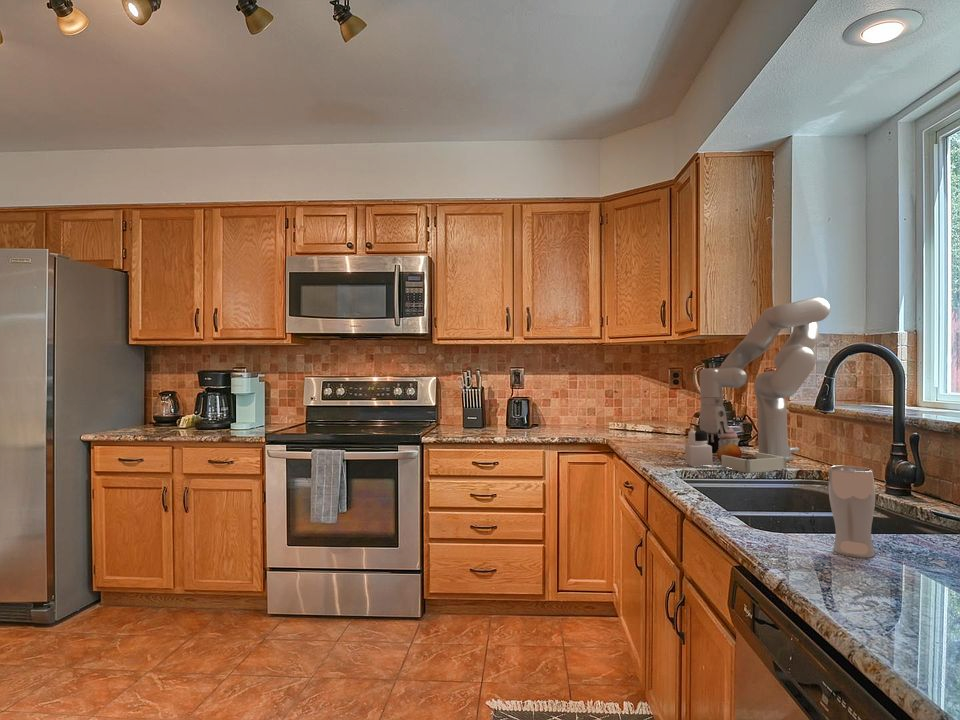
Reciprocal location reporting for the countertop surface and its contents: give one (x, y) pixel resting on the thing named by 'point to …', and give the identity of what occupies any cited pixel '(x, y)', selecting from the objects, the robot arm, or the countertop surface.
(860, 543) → the beer glass
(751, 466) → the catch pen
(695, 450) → the medicine bottle
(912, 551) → the countertop surface
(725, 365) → the robot arm
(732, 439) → the cupcake
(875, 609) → the countertop surface
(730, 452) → the fruit
